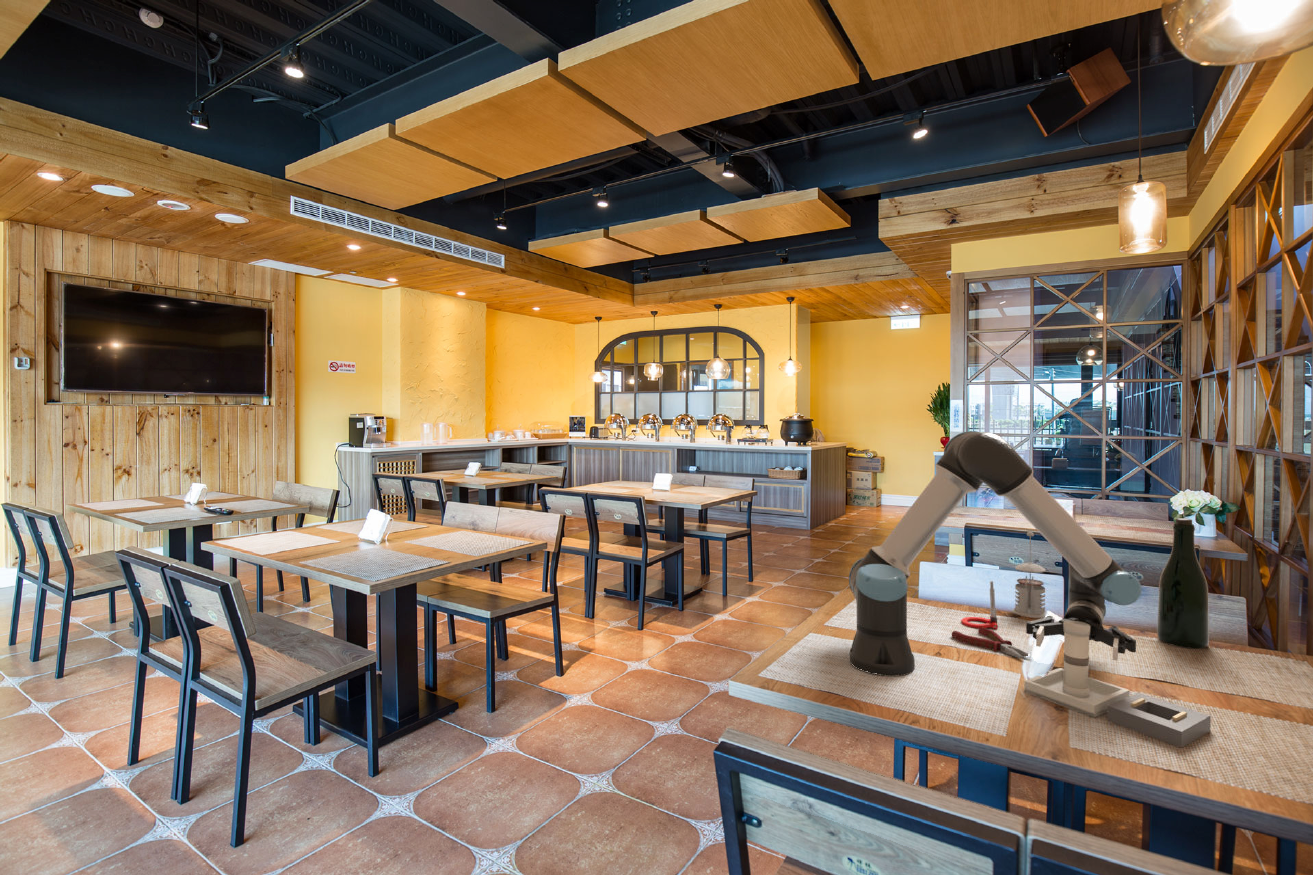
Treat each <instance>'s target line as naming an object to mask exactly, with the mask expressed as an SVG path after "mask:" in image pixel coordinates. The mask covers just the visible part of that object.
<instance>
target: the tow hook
mask: <svg viewBox="0 0 1313 875" xmlns="http://www.w3.org/2000/svg"><path fill="white" fill-rule="evenodd" d="M989 586H990V588H989V597H990V598H989V599H990V600H989V601H990V602H989V603H990V607H989V613H990V615H989V618H986V617H979V616H968V617H967V616H966V617H963V618H961V619H960V620H961V622H960V623H961V624H962V625H964V626H965V627H966V626H967V627H970V628H974V629H975V628H976V629H979V627H984V628H986V629H988V628H991V629H994V630H997V629H998V627H999V626H998V617H997V608H996V600H995V599H996V597H995V588H994V581H993V580H991V581H989ZM972 622H983V623H972Z"/></svg>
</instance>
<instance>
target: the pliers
mask: <svg viewBox="0 0 1313 875" xmlns="http://www.w3.org/2000/svg"><path fill="white" fill-rule="evenodd" d="M977 630H978V634H980V635H983V636H985V637H988V638H990V639H986V638H983V637H982V638H981V637H976V636H974V635H973V636H972V635H968V634H964V633H962V632H959V631H958V630H953V631H952V632H951V637H952V639H954V640H956V641H958V642H960V643H963V644H967V645H969V646H976V647H978V648H979V647H980V648H984V649H989V650H993V652H995V653H997V652H1002V653H1004V654H1007V655H1009V656H1012V657H1014V658H1018V659H1020V660H1021V659H1022V660H1023V661H1024V660H1025V659H1026V658H1027V657H1026V656H1028V654H1029V653H1028V652H1026V651H1024V650H1022V649H1021V648H1018V647H1016V646H1014V645H1013V642H1012V641H1011V640H1006V639H1003V637H1001V636H1000V635H999V634H998V633H997V632H995V631H994V630H992V629H988V628H984V627H979V628H977ZM991 639H992V640H991ZM1025 657H1026V658H1025Z"/></svg>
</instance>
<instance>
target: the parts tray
mask: <svg viewBox="0 0 1313 875" xmlns="http://www.w3.org/2000/svg"><path fill="white" fill-rule="evenodd" d="M1048 672H1049V673H1048V675H1047V676H1045V677H1042V676H1039V675H1036V676H1033V677H1031V678H1028V679H1025V680H1024V682H1023V683H1024V688H1023V690H1024V693H1025V694H1029V695H1031V696H1034V697H1037V698H1040V699H1042V700H1045V701H1048V702H1051V703H1053V704H1055V705H1058V706H1062V707H1064V708H1066V709H1070V710H1071V711H1074V712H1078V713H1080V714H1082V715H1085V716H1088V717H1090V718H1093V719H1096V718H1097V717H1100V716H1101V715H1104V714H1106V713H1108V706H1109V705H1111V704H1113V703H1116V702H1118V701H1120V700H1122V699H1124V698H1127V697H1129V696H1130V689H1127V688H1124V687H1121V686H1118V685H1115V684H1112V683H1108V682H1105V681H1102V680H1099V679H1096V678H1093V677H1090V676H1088V686H1089V697H1087V698H1078V697H1074V696H1071V695H1069V694H1066V693H1064V692H1063V681H1064V668H1062V667H1058V668H1056V669H1053V670H1050V671H1048Z"/></svg>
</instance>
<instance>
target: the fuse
mask: <svg viewBox="0 0 1313 875" xmlns="http://www.w3.org/2000/svg"><path fill="white" fill-rule="evenodd" d="M1063 631H1064V636H1063V637H1064V639H1063V640H1064V642H1063V644H1064V645H1063V669H1064V681H1063V692H1064V693H1066V694H1069V695H1071V696H1074V697H1078V698H1087V697H1089V686H1088V677H1089V667H1090V666H1089V665H1090V653H1089V652H1090V640H1089V635H1090V625H1089V624H1087V623H1084V622H1079V621H1064V622H1063Z"/></svg>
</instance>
